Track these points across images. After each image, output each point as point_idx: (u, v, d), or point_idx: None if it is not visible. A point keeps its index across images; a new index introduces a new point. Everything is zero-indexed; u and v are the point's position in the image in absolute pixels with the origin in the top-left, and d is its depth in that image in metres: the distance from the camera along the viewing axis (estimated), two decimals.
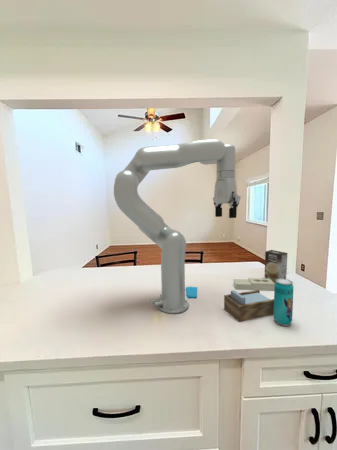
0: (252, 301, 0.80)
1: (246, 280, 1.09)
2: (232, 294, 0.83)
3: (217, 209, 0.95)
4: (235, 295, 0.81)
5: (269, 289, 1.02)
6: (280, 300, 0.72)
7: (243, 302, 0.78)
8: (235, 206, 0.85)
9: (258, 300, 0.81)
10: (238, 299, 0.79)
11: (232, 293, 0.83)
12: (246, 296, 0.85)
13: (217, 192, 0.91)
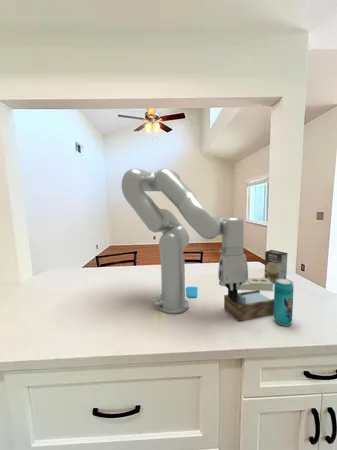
0: (253, 301, 0.80)
1: None
2: None
3: None
4: None
5: (267, 289, 1.03)
6: (280, 300, 0.72)
7: (243, 302, 0.78)
8: None
9: (258, 300, 0.81)
10: (238, 299, 0.79)
11: None
12: (246, 296, 0.85)
13: (232, 271, 0.76)
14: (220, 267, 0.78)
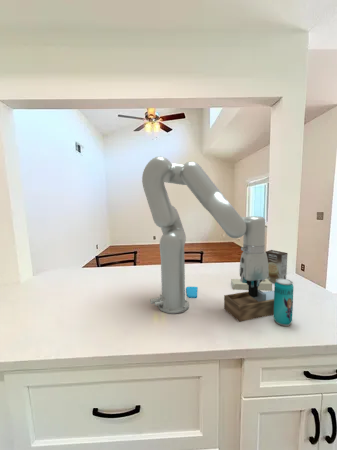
0: (273, 297, 0.83)
1: None
2: None
3: None
4: None
5: (266, 289, 1.03)
6: (280, 300, 0.72)
7: (264, 298, 0.80)
8: None
9: None
10: (259, 295, 0.82)
11: None
12: (266, 293, 0.87)
13: (254, 268, 0.79)
14: (242, 265, 0.80)
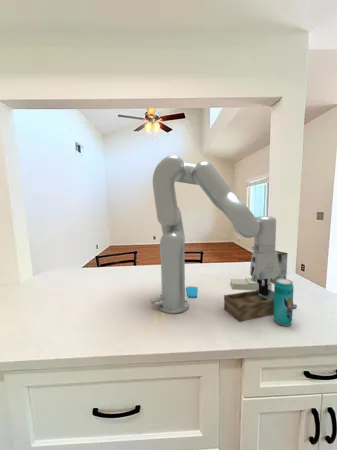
0: None
1: (243, 280, 1.09)
2: None
3: None
4: None
5: None
6: (280, 300, 0.72)
7: None
8: None
9: None
10: (268, 293, 0.83)
11: None
12: None
13: (265, 267, 0.80)
14: (253, 264, 0.82)
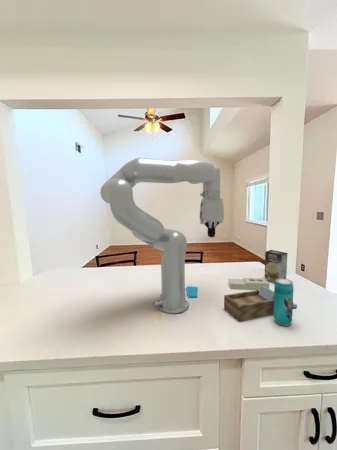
0: None
1: (241, 280, 1.09)
2: (262, 289, 0.87)
3: None
4: (266, 290, 0.85)
5: None
6: (280, 300, 0.72)
7: None
8: None
9: None
10: (269, 293, 0.83)
11: (262, 288, 0.87)
12: None
13: (210, 210, 0.92)
14: (201, 208, 0.94)
